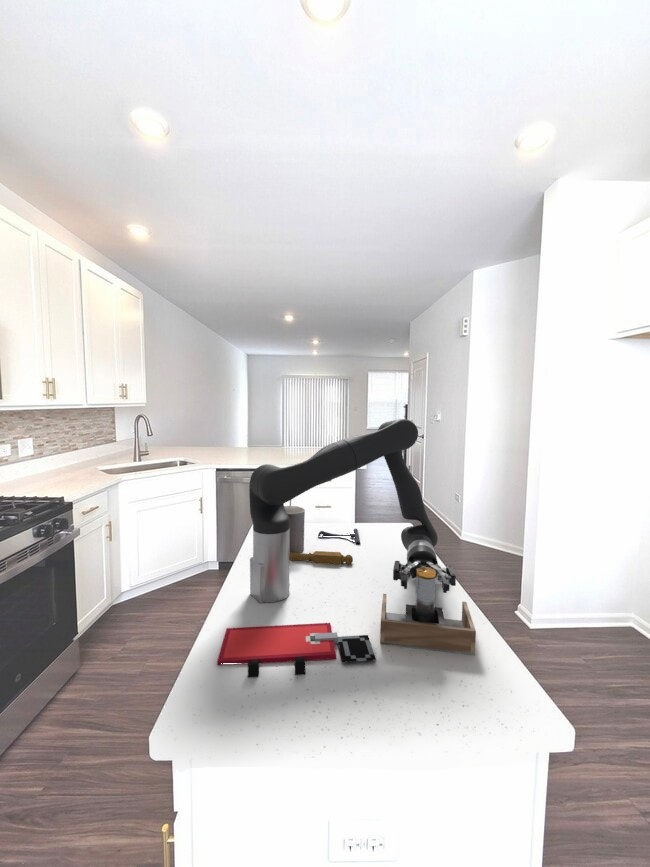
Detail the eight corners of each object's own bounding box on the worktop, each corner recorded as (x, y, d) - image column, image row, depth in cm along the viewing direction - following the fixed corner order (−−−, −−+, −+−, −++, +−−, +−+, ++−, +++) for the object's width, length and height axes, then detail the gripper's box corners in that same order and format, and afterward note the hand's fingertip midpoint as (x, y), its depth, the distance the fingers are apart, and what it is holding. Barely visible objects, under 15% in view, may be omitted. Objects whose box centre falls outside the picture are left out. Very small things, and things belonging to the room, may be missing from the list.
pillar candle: (270, 553, 130) (270, 508, 129) (282, 542, 139) (282, 500, 138) (298, 557, 127) (299, 511, 126) (308, 546, 137) (309, 503, 135)
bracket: (319, 532, 153) (319, 524, 153) (357, 532, 153) (357, 525, 153) (317, 545, 139) (317, 538, 139) (360, 546, 139) (360, 538, 138)
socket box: (474, 655, 79) (475, 631, 79) (380, 643, 82) (380, 620, 82) (465, 622, 91) (466, 601, 90) (382, 613, 94) (383, 593, 94)
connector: (425, 635, 85) (427, 576, 84) (411, 626, 88) (412, 569, 87) (437, 629, 87) (439, 572, 86) (423, 621, 90) (425, 565, 89)
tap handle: (259, 547, 127) (353, 553, 124) (259, 557, 128) (353, 562, 124) (256, 551, 124) (352, 556, 121) (256, 561, 125) (352, 566, 121)
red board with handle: (378, 671, 74) (363, 627, 89) (378, 656, 74) (363, 614, 89) (213, 682, 72) (226, 634, 86) (213, 667, 71) (226, 622, 86)
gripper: (394, 542, 105) (393, 567, 89) (450, 546, 103) (459, 573, 87) (393, 569, 106) (392, 599, 90) (449, 574, 103) (458, 606, 87)
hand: (425, 586), depth 88 cm, fingers open, 8 cm apart
